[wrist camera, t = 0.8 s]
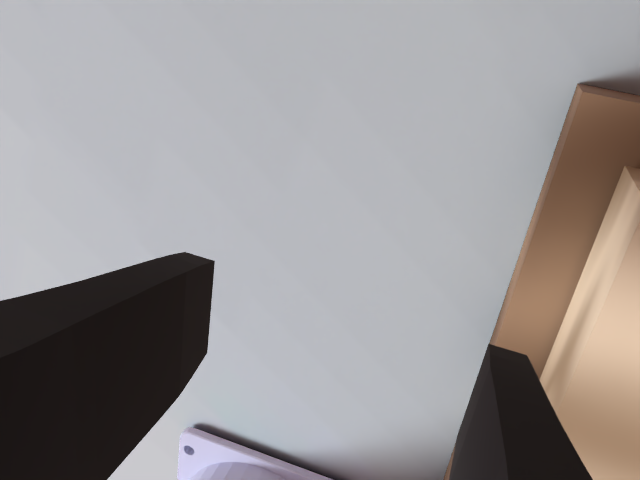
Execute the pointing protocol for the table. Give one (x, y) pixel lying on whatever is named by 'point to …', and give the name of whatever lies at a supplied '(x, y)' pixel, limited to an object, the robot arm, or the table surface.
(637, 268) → the folding leg
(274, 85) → the table surface
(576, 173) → the stool seat
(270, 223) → the table surface
